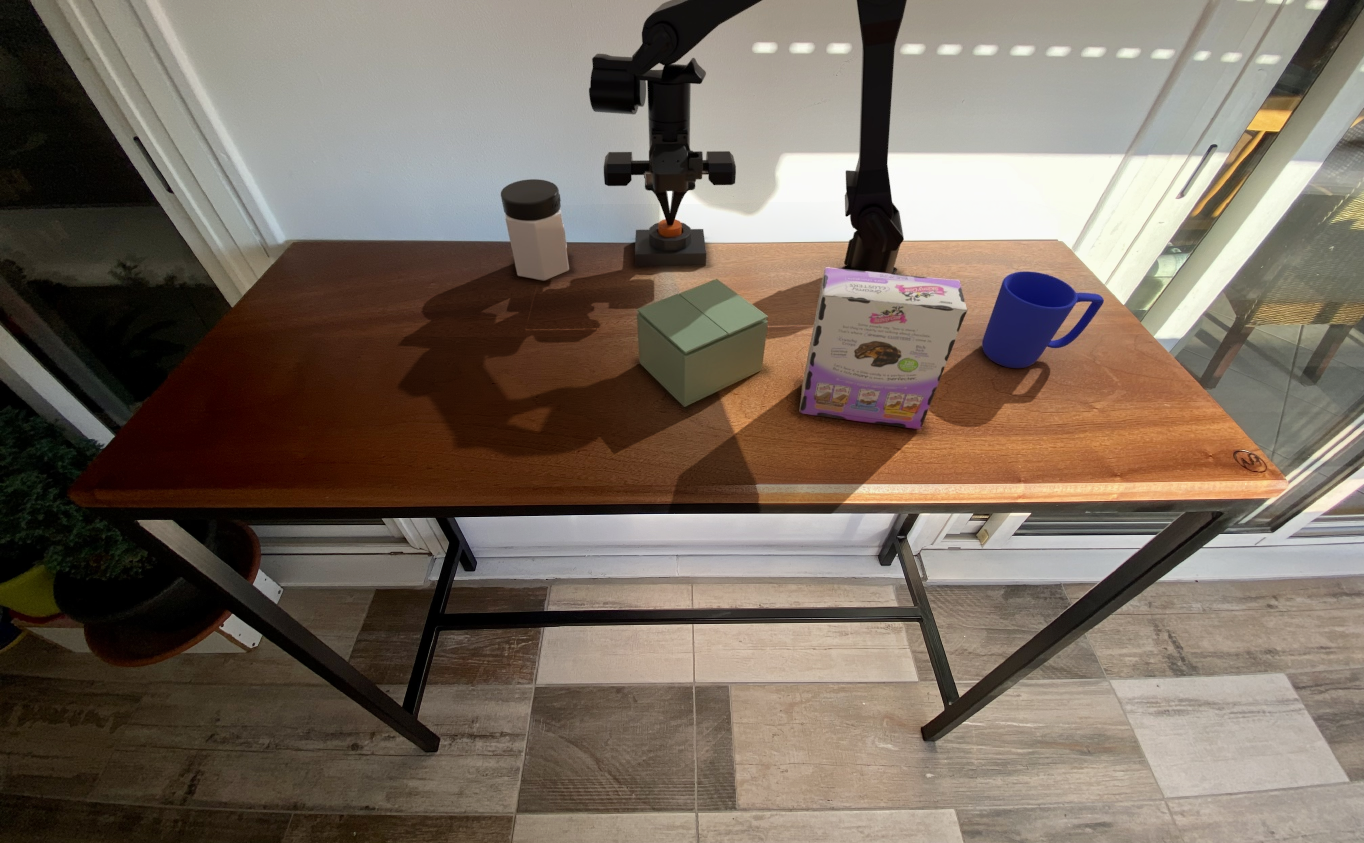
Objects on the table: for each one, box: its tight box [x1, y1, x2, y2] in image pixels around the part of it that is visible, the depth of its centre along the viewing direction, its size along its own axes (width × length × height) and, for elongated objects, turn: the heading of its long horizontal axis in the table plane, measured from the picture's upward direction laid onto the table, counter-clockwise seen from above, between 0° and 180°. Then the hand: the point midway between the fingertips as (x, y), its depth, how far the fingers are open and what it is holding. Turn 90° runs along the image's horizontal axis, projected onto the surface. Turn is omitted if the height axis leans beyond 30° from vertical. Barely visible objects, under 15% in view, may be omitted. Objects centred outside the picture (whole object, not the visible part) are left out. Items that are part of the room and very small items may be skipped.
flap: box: [678, 278, 769, 335], centre depth 71 cm, size 6×10×1 cm, turn 35°
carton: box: [636, 293, 769, 408], centre depth 73 cm, size 12×10×8 cm
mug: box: [981, 270, 1105, 369], centre depth 74 cm, size 8×12×10 cm
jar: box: [500, 178, 570, 282], centre depth 88 cm, size 9×8×12 cm
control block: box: [634, 222, 707, 267], centre depth 94 cm, size 11×8×4 cm
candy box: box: [799, 266, 968, 430], centre depth 65 cm, size 14×6×16 cm, turn 78°
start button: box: [658, 218, 682, 237], centre depth 93 cm, size 4×4×2 cm
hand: (670, 224), depth 92 cm, fingers closed, pressing on start button
